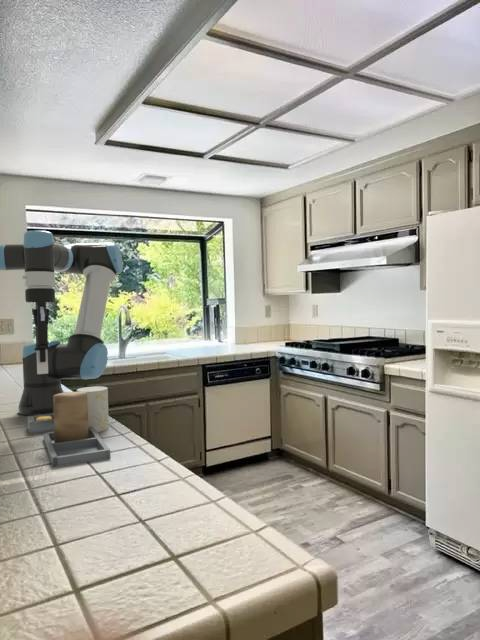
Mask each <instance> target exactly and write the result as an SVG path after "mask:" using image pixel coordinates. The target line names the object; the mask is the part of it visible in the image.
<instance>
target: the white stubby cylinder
mask: <svg viewBox="0 0 480 640" xmlns="http://www.w3.org/2000/svg"><path fill="white" fill-rule="evenodd" d="M108 389H109V388H108V387H106V386H86V387H84V386H83V387H80V388H77V389H76V392H86V393H87V396H88V427H93V428H94V430H95V431H96V432H97V433H100V432H103V431H107V430H108V429H109V428H110V427H109V424H110V423H109V390H108Z"/></svg>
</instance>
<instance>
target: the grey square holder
mask: <svg viewBox="0 0 480 640" xmlns="http://www.w3.org/2000/svg"><path fill="white" fill-rule="evenodd" d="M43 416H51V417H52V419H47V420H38V421H36V418H38V417H43ZM27 430H28V434H29V435H33V434H39V433H40V434H44V433H48V432H54V413H48V414H38V415H28V416H27Z"/></svg>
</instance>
